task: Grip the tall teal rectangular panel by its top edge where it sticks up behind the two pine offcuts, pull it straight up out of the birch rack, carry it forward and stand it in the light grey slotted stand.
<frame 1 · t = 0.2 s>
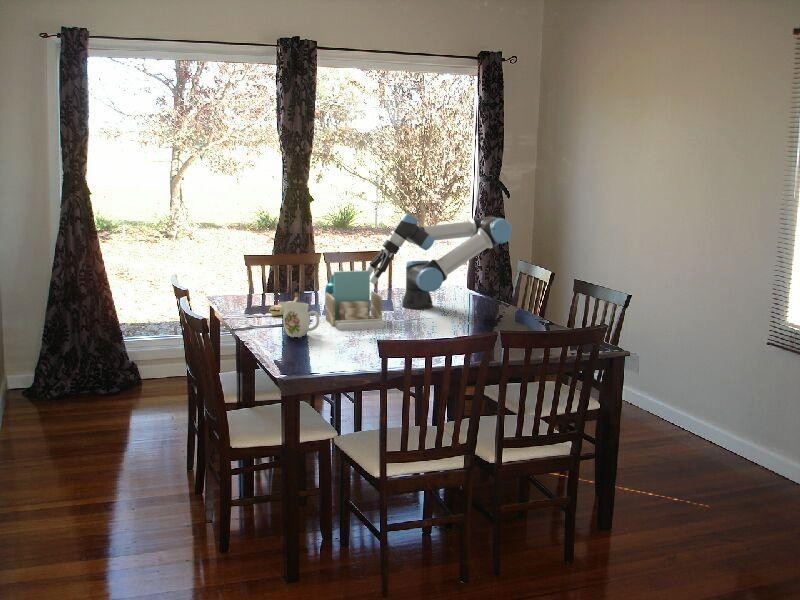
hand: (368, 280, 375), 16 cm above the table, tool tilted 35°, fingers open, 13 cm apart
offcut tall: (353, 321, 354), point 1 cm above the table, touching rack
offcut short: (355, 323, 350), point 1 cm above the table, touching rack
teal rectangular panel: (351, 319, 358), point 1 cm above the table, touching rack
cat figure: (285, 313, 380), on the table
stand: (359, 330, 344), on the table
vase: (336, 315, 374), on the table
white floral mug: (298, 336, 333), on the table
rack: (353, 324, 355), on the table
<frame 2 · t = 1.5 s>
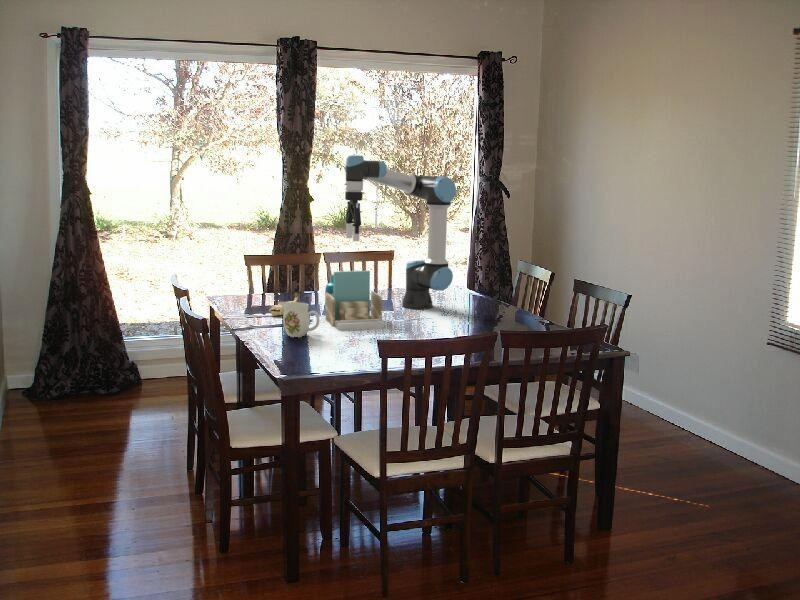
hand: (352, 239, 353), 37 cm above the table, tool pointing down, fingers open, 13 cm apart
nothing on the table moved.
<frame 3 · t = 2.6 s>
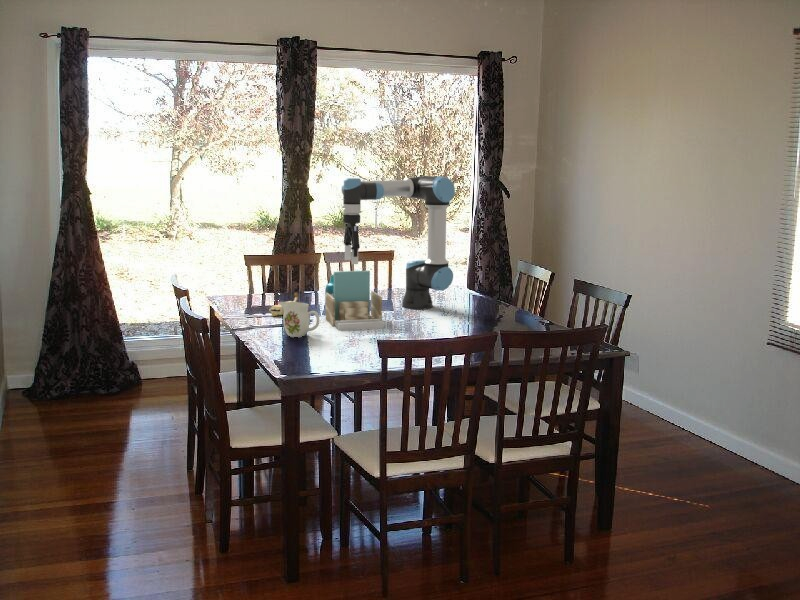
hand: (351, 262, 353), 28 cm above the table, tool pointing down, fingers open, 13 cm apart
nothing on the table moved.
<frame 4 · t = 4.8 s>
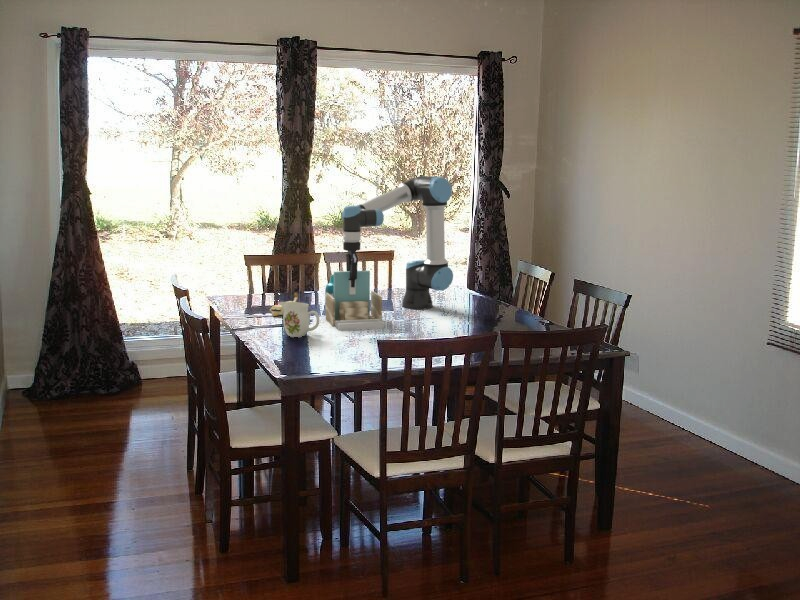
hand: (351, 293, 356), 13 cm above the table, tool pointing down, fingers closed on teal rectangular panel, 2 cm apart
teal rectangular panel: (351, 319, 358), point 2 cm above the table, touching gripper
everything else where it was.
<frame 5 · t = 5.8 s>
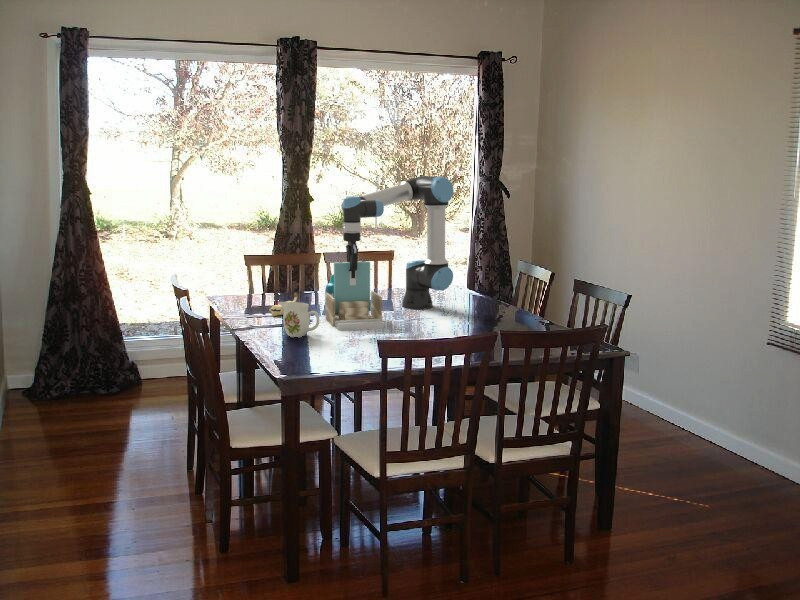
hand: (352, 284, 355), 18 cm above the table, tool pointing down, fingers closed on teal rectangular panel, 2 cm apart
teal rectangular panel: (352, 311, 357), point 6 cm above the table, touching gripper
everything else where it was.
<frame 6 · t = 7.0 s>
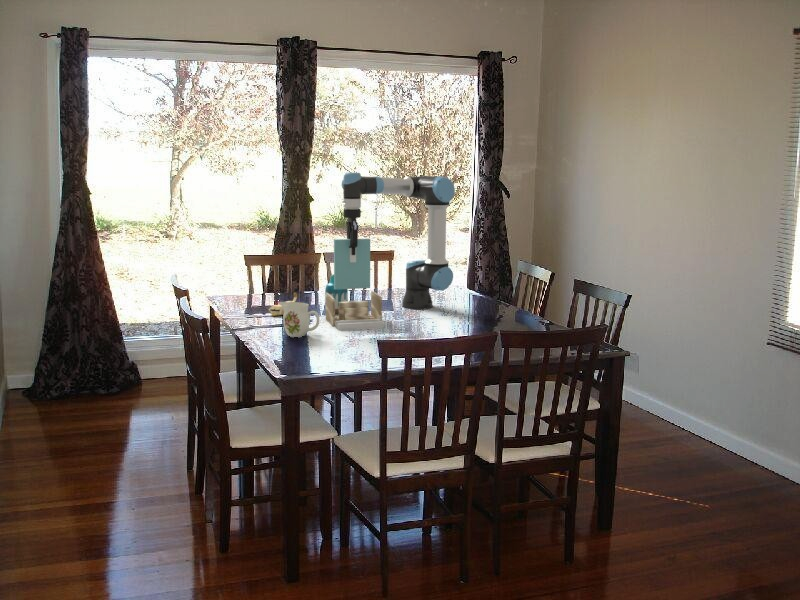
hand: (352, 261, 353), 28 cm above the table, tool pointing down, fingers closed on teal rectangular panel, 2 cm apart
teal rectangular panel: (352, 288, 355), point 16 cm above the table, touching gripper
everything else where it was.
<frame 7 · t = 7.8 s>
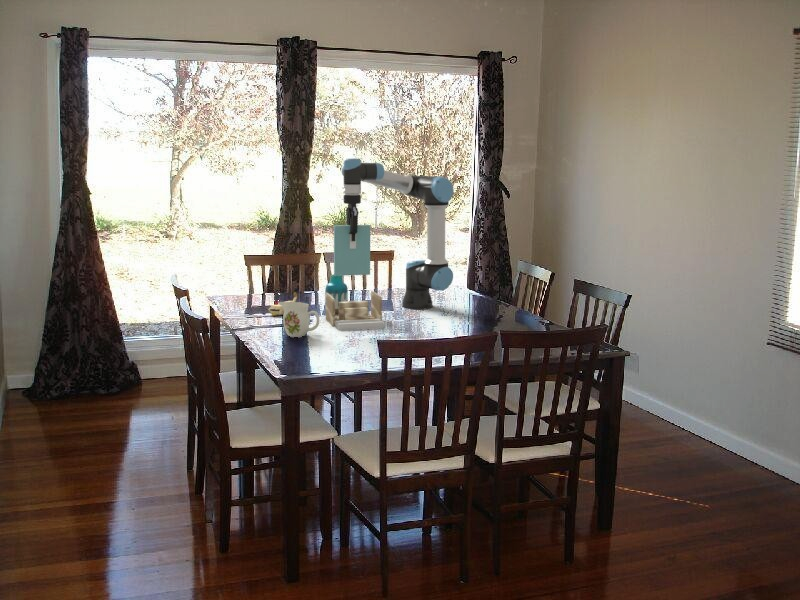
hand: (352, 248, 352), 34 cm above the table, tool pointing down, fingers closed on teal rectangular panel, 2 cm apart
teal rectangular panel: (352, 274, 354), point 22 cm above the table, touching gripper
everything else where it was.
when the fingers open (14 cm above the table, at t = 12.8 s): teal rectangular panel stays where it is, resting on stand.
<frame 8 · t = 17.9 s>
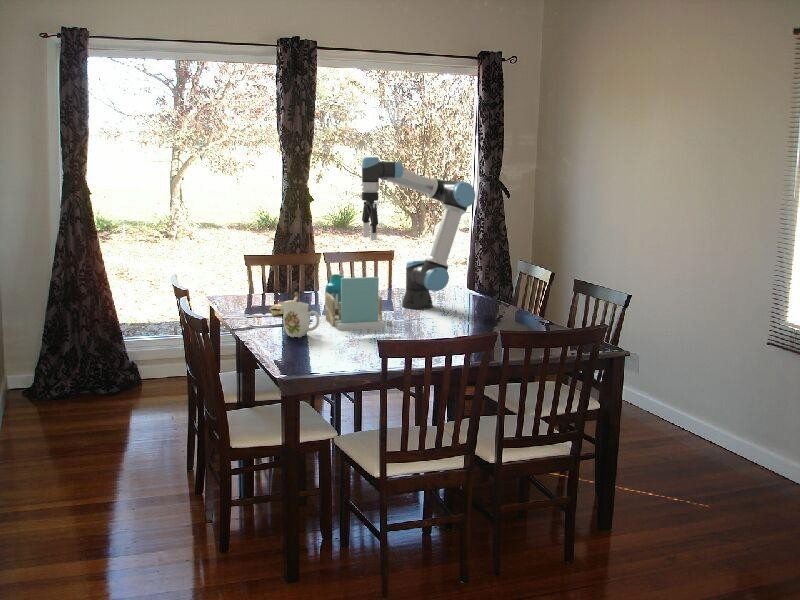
hand: (369, 238, 365), 37 cm above the table, tool pointing down, fingers open, 13 cm apart
teal rectangular panel: (359, 328, 344), point 1 cm above the table, touching stand
at the end: teal rectangular panel 0.0 cm off-centre on the stand, point 1.0 cm above the stand's base; teal rectangular panel tilted 0°; offcut tall moved 0.0 cm from its start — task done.
